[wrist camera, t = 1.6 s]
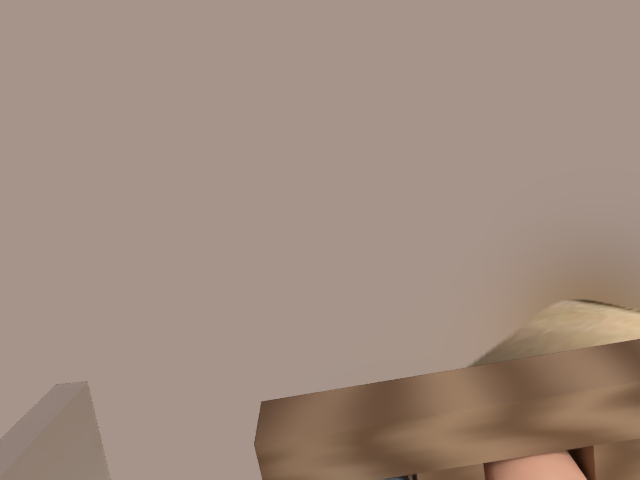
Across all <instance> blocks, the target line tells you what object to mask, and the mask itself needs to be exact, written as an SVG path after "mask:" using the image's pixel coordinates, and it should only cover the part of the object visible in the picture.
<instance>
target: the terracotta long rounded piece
mask: <svg viewBox="0 0 640 480" xmlns="http://www.w3.org/2000/svg"><path fill="white" fill-rule="evenodd" d="M483 467H484V475H485V480H587V479H586V477H585V476H584V474H583V473H582V472H581V470H580V469H579V467H578V466H577V464H576V463H575V462H574V460H573V459H572V457H571V456H570V454H569V453H568V451H567V450H563V451H557V452H550V453H544V454H538V455H532V456H525V457H519V458H513V459H506V460H500V461H494V462H488V463H483Z"/></svg>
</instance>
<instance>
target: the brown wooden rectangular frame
mask: <svg viewBox="0 0 640 480" xmlns="http://www.w3.org/2000/svg"><path fill="white" fill-rule="evenodd" d="M254 445H255V450H256V454H257V458H258V462H259V466H260V471H261V475H262V479H263V480H381V479H387V478H393V477H399V476H406V475H412V476H413V480H485V475H484V467H483V463H488V462H494V461H500V460H506V459H513V458H519V457H525V456H532V455H538V454H544V453H550V452H557V451H563V450H567V451H568V453H569V454H570V456H571V457H572V459H573V460H574V462H575V463H576V464H577V466H578V467H579V469H580V470H581V472H582V473H583V474H584V476H585V477H586V479H587V480H640V339H637V340H631V341H625V342H619V343H613V344H607V345H601V346H595V347H589V348H583V349H576V350H570V351H564V352H558V353H552V354H546V355H540V356H534V357H528V358H522V359H516V360H510V361H504V362H498V363H492V364H486V365H480V366H474V367H468V368H462V369H456V370H450V371H444V372H438V373H432V374H425V375H419V376H413V377H407V378H401V379H395V380H389V381H383V382H377V383H371V384H365V385H359V386H353V387H347V388H341V389H335V390H329V391H323V392H317V393H311V394H305V395H299V396H292V397H286V398H280V399H274V400H268V401H263V402H261V408H260V413H259V420H258V425H257V431H256V436H255V442H254Z"/></svg>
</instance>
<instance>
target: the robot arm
mask: <svg viewBox="0 0 640 480" xmlns="http://www.w3.org/2000/svg"><path fill="white" fill-rule="evenodd" d="M0 480H111V478H110V474H109V470H108V465H107V461H106V457H105V453H104V449H103V444H102V440H101V436H100V432H99V427H98V423H97V419H96V415H95V411H94V406H93V402H92V398H91V394H90V389H89V385H88V382H87V381H85V382H75V383H65V384H56V385H55V386H54V387H53V388H52V389H51V390H50V391H49V392H48V393H47V394H46V395H45V396H44V397H43V398H42V399H41V400H40V401H39V402H38V403H37V404H36V405H35V406H34V407H33V408H32V409H31V410H30V411H29V412H28V413H27V414H26V415H25V416H24V417H23V418H21V420H20V421H18V422H17V424H16V425H14V427H12V428H11V429H10V430H9V431H8V432H7V433H6V434H5V435H4V436H3V437H2V438H1V439H0Z"/></svg>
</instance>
